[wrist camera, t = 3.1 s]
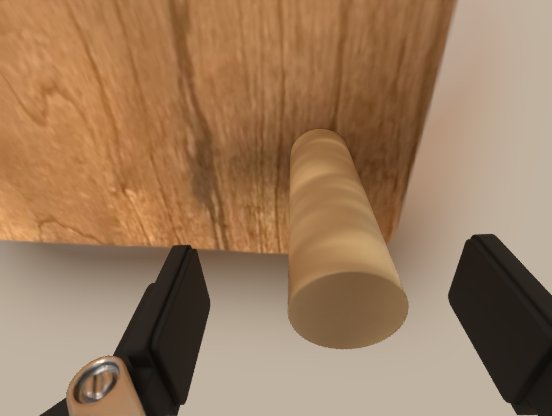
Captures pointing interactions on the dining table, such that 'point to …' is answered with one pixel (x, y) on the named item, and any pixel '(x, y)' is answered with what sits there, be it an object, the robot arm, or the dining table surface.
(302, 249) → the beige marbled cylinder
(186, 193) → the dining table surface
